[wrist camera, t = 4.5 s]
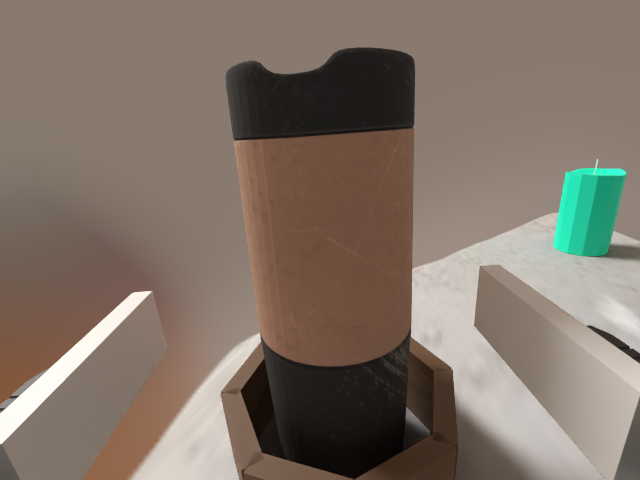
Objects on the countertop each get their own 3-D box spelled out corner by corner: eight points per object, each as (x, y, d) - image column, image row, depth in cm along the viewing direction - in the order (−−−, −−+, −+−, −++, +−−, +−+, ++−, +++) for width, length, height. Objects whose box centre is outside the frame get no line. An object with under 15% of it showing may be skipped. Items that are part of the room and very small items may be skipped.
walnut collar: (446, 387, 23) (450, 332, 21) (455, 620, 12) (464, 543, 11) (290, 359, 27) (284, 312, 25) (193, 518, 16) (173, 451, 15)
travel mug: (352, 376, 24) (339, 85, 18) (436, 454, 18) (463, 54, 12) (257, 429, 21) (198, 84, 14) (324, 550, 14) (274, 35, 8)
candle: (586, 240, 47) (604, 155, 43) (620, 255, 42) (644, 159, 38) (543, 242, 48) (557, 158, 44) (571, 257, 42) (590, 163, 38)
